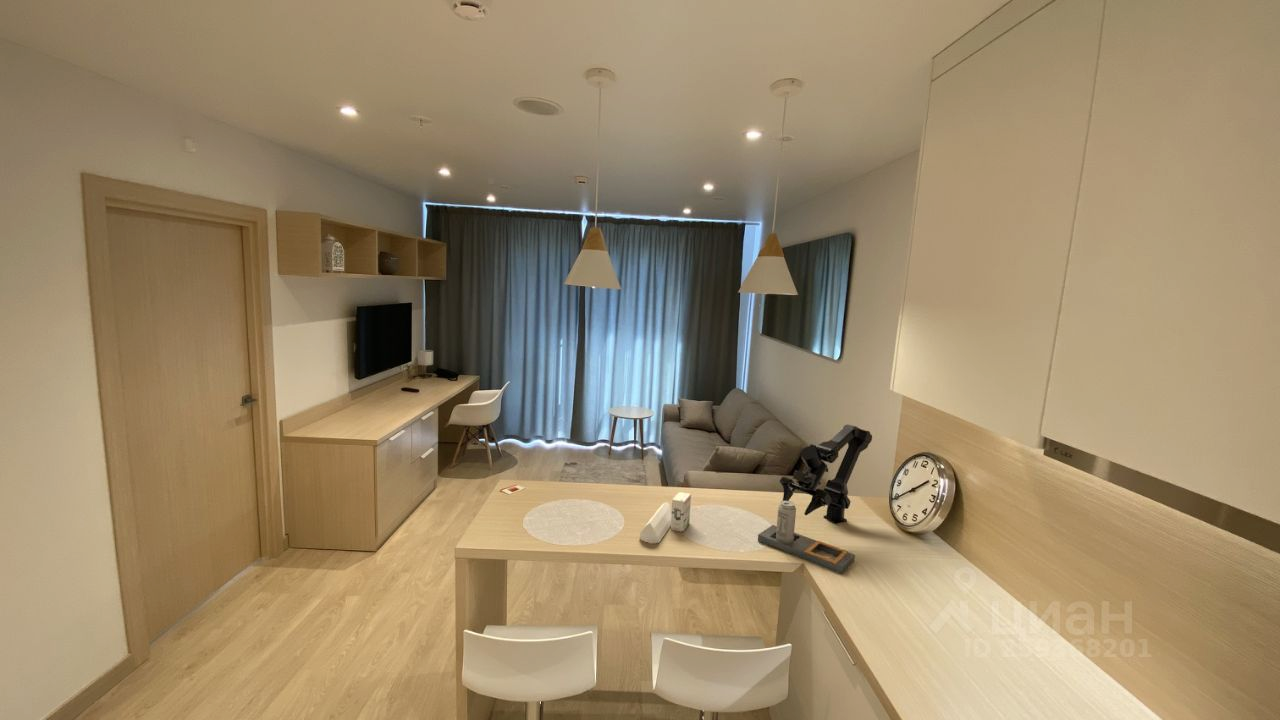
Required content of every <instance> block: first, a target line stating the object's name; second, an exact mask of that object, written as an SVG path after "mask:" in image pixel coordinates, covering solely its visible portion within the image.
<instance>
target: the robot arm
mask: <svg viewBox="0 0 1280 720" xmlns="http://www.w3.org/2000/svg"><path fill="white" fill-rule="evenodd" d="M872 440H873V435H872V434H871V432H870V431H869V430H865V429H861V428H860V427H858V426H856V425H855V426H854V425H851V424H845V425H844V426H843V428H842V429H841V430H839V432H837V433H836V434H835V435H834V436H833V437H832V438H831V439H830V440H827V441H822V442H820V443H819V444H817V445H815V444H812V443H810V445H809V446H805V447H804V448H802V449H801V450H800V452H799V455H800V457H801V459H802V461H803V462H804V463H805V465H806V467H807V469H806V470H803V471H800V470H794V473H793V476H792V478H790V477H787V476H782V477H780V479H779V483H780V485H781V486H782V488H783V496H782V501H790V499H791V498H792V497H793V495H794V493H793V492H795V491H798V492H801V493H804V494H806V495H809V496H812V497H811V501H809V504H808V505H807V507H806V509H805V511H804V515H805V516H808V515H810V514H811V513H813V512H815V511H816V510H817V509H819V508H821V507H825V506H827V507H826V513H825V515H823V518H824V519H826V520H828V521H830V522H831V523H834V524H840V523H844V522H847V520H848V519H847V518H845V510H847V509H849V507H850V505H851V500H850V498H849V497H848V494H849V490H848V482H849V480H850V477H851V476H852V473H853V470H854V468H855V466H856V463H857V461H858V458H859V457H860V454H861V452H863V451H865V450H867V449H868V447H869V445H870V444H871V442H872ZM846 445H848V446H847V449H846V451H845V454H844V455H843V457H842V460H841V463H840V464H839V467H838V470H837V472H836V475H835V476H834V478H833V479H827V481H826V484H825V486H824V487H823V489H820V488H817V487H818V486H821V483H822V482H821V481H822V480H821V479H822V478H823V477H824V475H825V472H826V473H829V468H828V464H826V463H829V464H833V463H835V461H836V460H837V459H838V457H839V452H840V451H841V449H842V450H843V448H844V447H845V446H846ZM794 480H796V483H795V481H794Z"/></svg>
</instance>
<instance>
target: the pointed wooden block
mask: <svg viewBox="0 0 1280 720" xmlns="http://www.w3.org/2000/svg"><path fill="white" fill-rule="evenodd" d="M671 513H672V505H670V503H668V502H667V501H665V502H663V503H662V504H661V505H660V507H659V508H657V510H656V511H655V513H654V514H653V515H652V517H651V518H650V519H649V520H648V522H647V523H646V524H645V526H644V527H643V529H642V530H641V531H640V533H639V537H638V538H639V539H640V540H641V541H642V540H643V541H645V542H644V543H646V542H648V543H647V544H651V543H655V544H659V543H660V542H661V540H662V539H663V538H664V536H665V535H666V533H667V532H668V530H669V529H670V528H671ZM643 541H642V542H643Z"/></svg>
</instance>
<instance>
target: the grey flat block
mask: <svg viewBox="0 0 1280 720" xmlns="http://www.w3.org/2000/svg"><path fill="white" fill-rule="evenodd" d="M776 530H777V525H775V524H772V525H770V526H769V527H767V528H765V530H763V531H761V532H760V533H758V534H757V542H760V543H761V544H764V545H767V546H769V547H772V548H774V549H776V550H778V551H782V552H784V553H787V554H789V555H792V556H794V557H797V558H800V559H801V560H805V561H807V562H809V563H813V564H815V565H818V566H820V567H822V568H825V569H828V570H830V571H833V572H834V573H838V574H841V575H843V574H844V573H845V572H846V571H847V570H848V569H849V568H850V567H851V566H852V565H853V564H854V563H855V559H856V554H854V553H851V552H849V551H848V550H845V549H842V548H840V547H837V546H834V545H831V544H828V543H825V542H823V541H820V540H816V539H813V538H811V537H807V536H805V535H803V534H800V533H797V532H794V541H793V543H792V544H791V545H790V544H787V543H785V542H782V541H779V540H777V539H776ZM818 552H821V553H825V554H827V555H830V556H832V557H835V558H834V559H831V558H829V557H826V556H823V555H821V554H818Z"/></svg>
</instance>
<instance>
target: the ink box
mask: <svg viewBox="0 0 1280 720" xmlns="http://www.w3.org/2000/svg"><path fill="white" fill-rule="evenodd" d="M691 497H692V493H689V492H682V491H679V492H678V493H677V494H676V495H675V496H674V497H673V498H672V499H671V508H672V513H671V526H670V530H673V531H678V532H681V531H683V532H684V531H685V530H686V528H687V527H688V525H689V524H690V517H691V500H692V498H691Z"/></svg>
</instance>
